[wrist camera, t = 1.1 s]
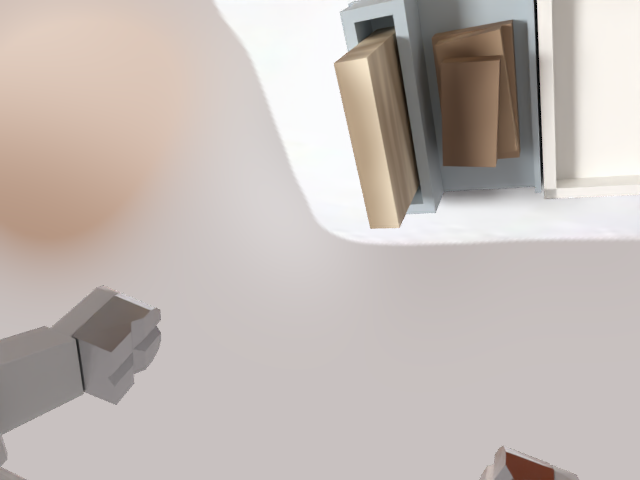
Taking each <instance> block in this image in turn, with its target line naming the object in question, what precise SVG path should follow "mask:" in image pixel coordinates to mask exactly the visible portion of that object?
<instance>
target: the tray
mask: <svg viewBox="0 0 640 480" xmlns="http://www.w3.org/2000/svg"><path fill="white" fill-rule="evenodd" d="M537 13H538V40H539V67H540V94H541V121H542V147H543V174H544V199H558V198H581V197H604V196H626V195H640V0H537Z"/></svg>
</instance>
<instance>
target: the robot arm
mask: <svg viewBox="0 0 640 480" xmlns="http://www.w3.org/2000/svg"><path fill="white" fill-rule="evenodd" d="M160 320H161V315H160V310H159V309H157V308H155V307H153V306H151V305H148V304H146V303H144V302H142V301H139V300H137V299H134V298H132V297H130V296H128V295H125V294H123V293H120V292H118V291H115V290H113V289H111V288H108V287H106V286H104V285H103V286H100V287H97V288H95V289H94V290H93V291H92V292H90V293H89V294H88V295H87V296H86V297H85V298H84V299H83V300H82V301H80V302H79V303H78V304H77V305H76V306H75V307H73V308H72V309H71V310H70V311H69V312H68V313H67V314H66V315H65V316H63V317H62V318H61V319H60V320H59V321H58V322H57V323H55V324H54V325H53V326H52V327H51V328H49V327H46V326H43V327H40V328H37V329H34V330H30V331H27V332H24V333H20V334H17V335H14V336H11V337H8V338H4V339H1V340H0V480H27V479H24V478H22V477H20V476H18V475H16V474H14V473H12V472H10V471H8V470H6V469H4V468H2V467H1V466H2V464H3V463H4V462H5V461H6V460H7V451H6V447H5V444H4V441H3V438H2V434H4V433H6V432H8V431H10V430H12V429H14V428H16V427H18V426H20V425H22V424H24V423H26V422H28V421H30V420H32V419H34V418H36V417H38V416H40V415H42V414H44V413H46V412H48V411H50V410H52V409H55V408H56V407H58V406H61V405H63V404H64V403H67V402H69V401H70V400H73V399H74V398H77V397H79V396H81V395H82V394H84V392H86V393H89V394H91V395H93V396H96V397H98V398H100V399H103V400H106V401H108V402H111V403H113V404H115V405H117V403H118V402H119V401H120V400H121V398H122V397H123V396H124V395H125V394H126V393H127V391H128V390H129V389H130V388H131V387H132V385H133V384H134V374H135V373H138V372H140V371H143V370H145V369H146V368H147V367H148V366H149V364H150V363H151V362H152V361H153V359H154V357H155V355H156V353H157V351H158V349H159V345H160V341H161V332H160V331H159V329H158V328H157V326H156V325H157V324H158V322H159V321H160ZM480 480H579V479H578V477H577V475H576V474H573V473H571V472H568V471H566V470H563V469H561V468H558V467H556V466H553V465H550V464H549V463H547V462H544V461H542V460H539V459H537V458H534V457H532V456H529V455H526V454H524V453H521V452H519V451H516V450H513V449H511V448H508V447H505V446H502V447H500V448H499V449H498V451H497V452H496V454H495V460H494V464H493V465H489V466H487V467H486V469H485V470H484V472H483V474H482V475H481V478H480Z"/></svg>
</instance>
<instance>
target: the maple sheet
mask: <svg viewBox="0 0 640 480" xmlns="http://www.w3.org/2000/svg"><path fill="white" fill-rule="evenodd" d="M334 66H335V71H336V75H337V80H338V84H339V89H340V93H341V98H342V103H343V107H344V112H345V116H346V121H347V125H348V130H349V134H350V139H351V143H352V148H353V152H354V157H355V161H356V166H357V170H358V175H359V179H360V184H361V188H362V193H363V197H364V202H365V206H366V211H367V215H368V220H369V224H370V229H373V228H399V227H400V225H401V223H402V221H403V219H404V217H405V215H406V212H407V210H408V208H409V206H410V204H411V202H412V200H413V197H414V195H415V193H416V191H417V189H418V187H419V185H420V180H419V173H418V167H417V161H416V155H415V149H414V143H413V136H412V130H411V124H410V118H409V112H408V106H407V99H406V93H405V87H404V81H403V75H402V68H401V62H400V56H399V50H398V44H397V38H396V31H395V26H391V27H386V28H381V29H376V30H375V31H374V32H373V33H371V34H370V35H369V36H368V37H366V38H365V39H364V40H363V41H361V42H360V43H359V44H358V45H356V46H355V47H354V48H353V49H351V50H350V51H349V52H348V53H346V54H345V55H344V56H343V57H341V58H340V59H339V60H338V61H336V62H335V63H334Z"/></svg>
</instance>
